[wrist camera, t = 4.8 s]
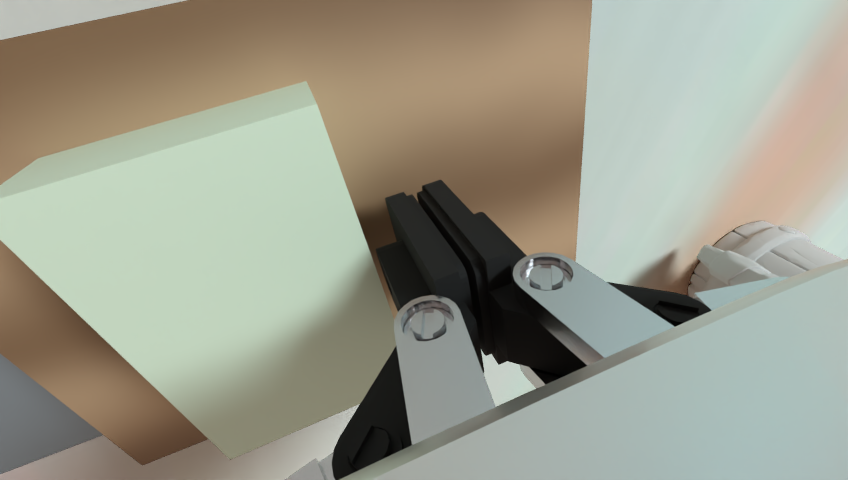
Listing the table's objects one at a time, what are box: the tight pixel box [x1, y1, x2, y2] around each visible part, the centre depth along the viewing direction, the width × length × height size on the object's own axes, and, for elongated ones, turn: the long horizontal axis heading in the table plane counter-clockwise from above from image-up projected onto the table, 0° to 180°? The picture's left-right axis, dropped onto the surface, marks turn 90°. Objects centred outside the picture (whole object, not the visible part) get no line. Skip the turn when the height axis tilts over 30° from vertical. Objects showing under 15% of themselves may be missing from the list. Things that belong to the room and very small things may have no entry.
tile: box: [0, 81, 396, 460], centre depth 11 cm, size 9×6×2 cm, turn 13°
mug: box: [688, 221, 843, 298], centre depth 21 cm, size 8×12×12 cm, turn 61°
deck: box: [0, 0, 592, 465], centre depth 13 cm, size 13×18×4 cm
